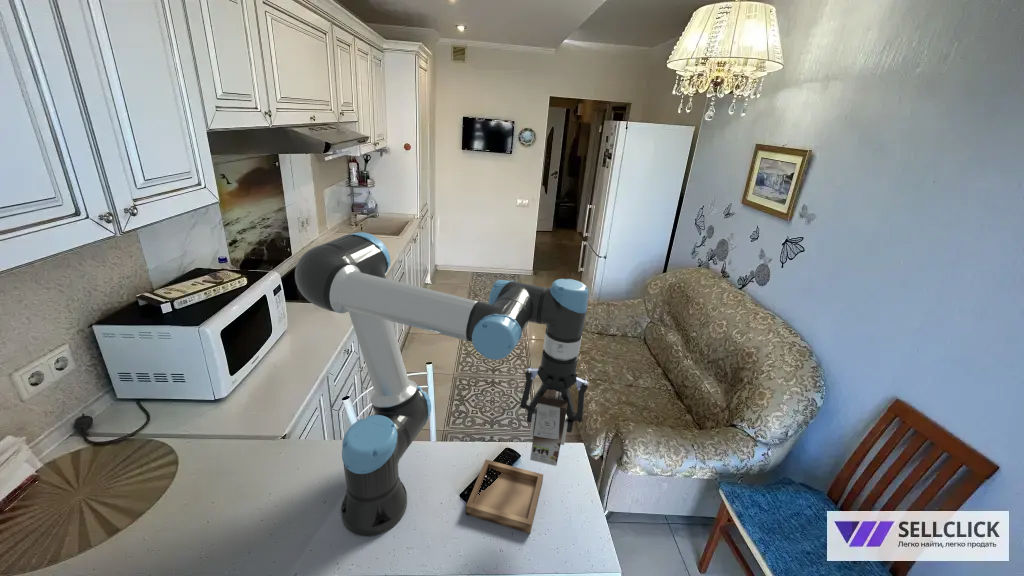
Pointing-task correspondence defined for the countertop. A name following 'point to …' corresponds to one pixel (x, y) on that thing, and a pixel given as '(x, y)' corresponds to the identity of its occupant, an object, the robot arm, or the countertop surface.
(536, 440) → the coffee box
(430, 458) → the countertop surface
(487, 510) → the wooden tray
